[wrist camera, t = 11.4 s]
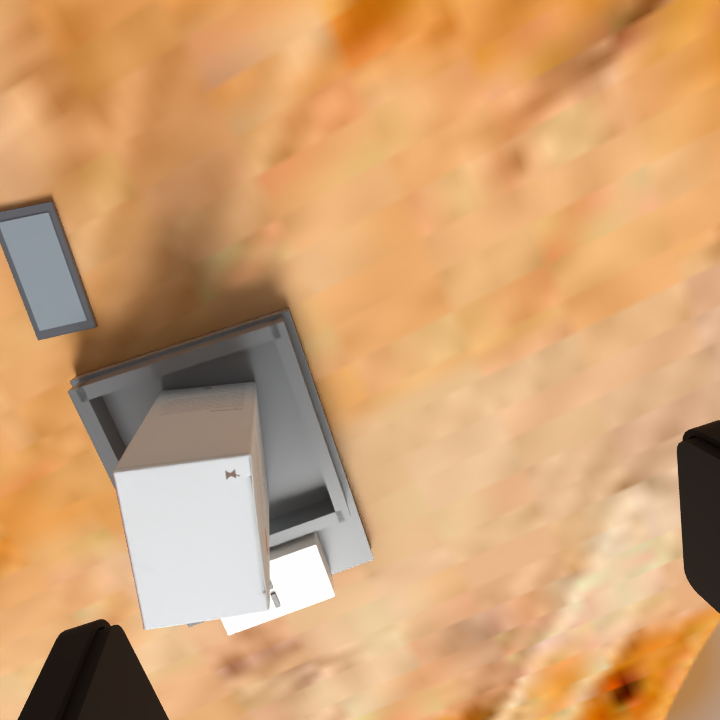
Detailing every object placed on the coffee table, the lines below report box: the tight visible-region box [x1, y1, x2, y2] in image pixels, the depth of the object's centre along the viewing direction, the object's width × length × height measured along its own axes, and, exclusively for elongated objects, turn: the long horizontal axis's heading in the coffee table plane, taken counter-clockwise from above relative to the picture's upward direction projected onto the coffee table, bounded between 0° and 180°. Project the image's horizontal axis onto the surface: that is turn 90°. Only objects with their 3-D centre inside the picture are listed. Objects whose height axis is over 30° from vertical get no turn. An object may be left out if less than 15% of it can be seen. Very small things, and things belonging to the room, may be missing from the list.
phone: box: [0, 202, 98, 340], centre depth 30 cm, size 7×3×1 cm, turn 12°
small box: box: [112, 382, 270, 630], centre depth 27 cm, size 8×6×10 cm
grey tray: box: [68, 308, 374, 636], centre depth 32 cm, size 18×13×4 cm
